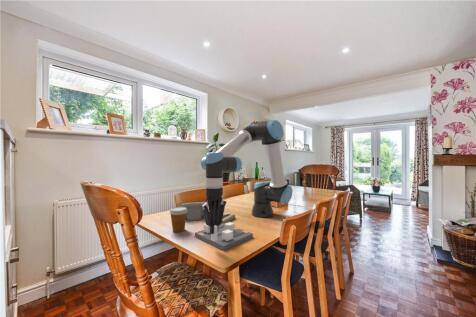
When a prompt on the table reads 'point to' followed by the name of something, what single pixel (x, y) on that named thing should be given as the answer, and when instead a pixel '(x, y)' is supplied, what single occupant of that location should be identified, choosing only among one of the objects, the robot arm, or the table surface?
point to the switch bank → (238, 238)
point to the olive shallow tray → (227, 218)
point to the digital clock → (194, 210)
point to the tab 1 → (206, 228)
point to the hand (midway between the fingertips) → (214, 240)
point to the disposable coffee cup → (178, 218)
